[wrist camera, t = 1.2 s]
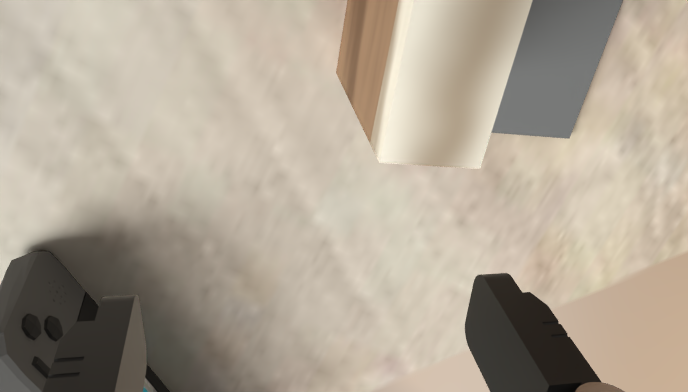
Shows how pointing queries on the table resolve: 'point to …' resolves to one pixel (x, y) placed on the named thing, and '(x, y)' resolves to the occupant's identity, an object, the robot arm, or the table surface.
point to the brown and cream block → (429, 75)
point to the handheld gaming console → (41, 321)
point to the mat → (554, 66)
